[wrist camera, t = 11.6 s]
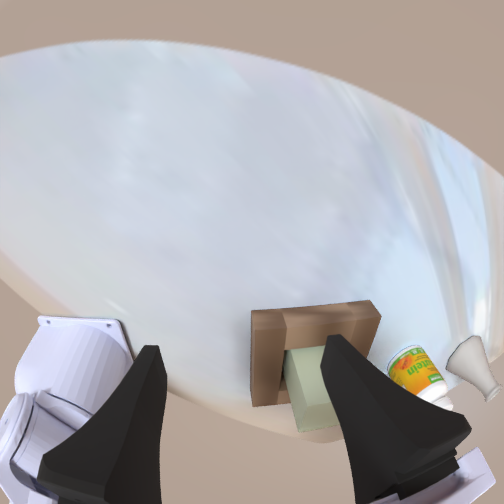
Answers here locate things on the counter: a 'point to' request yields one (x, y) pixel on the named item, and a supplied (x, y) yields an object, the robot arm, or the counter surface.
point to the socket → (302, 340)
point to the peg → (308, 389)
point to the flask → (474, 367)
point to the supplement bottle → (419, 376)
